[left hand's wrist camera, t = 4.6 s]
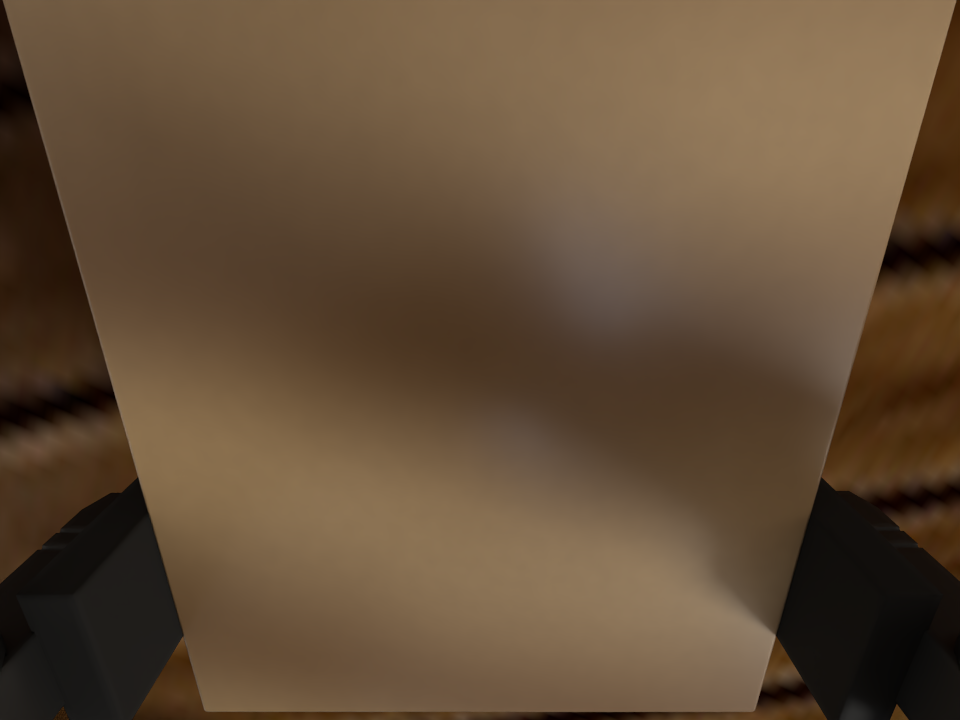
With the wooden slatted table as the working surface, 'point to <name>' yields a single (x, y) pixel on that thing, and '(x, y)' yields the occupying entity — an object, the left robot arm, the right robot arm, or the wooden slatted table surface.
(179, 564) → the cabinet
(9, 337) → the wooden slatted table surface
